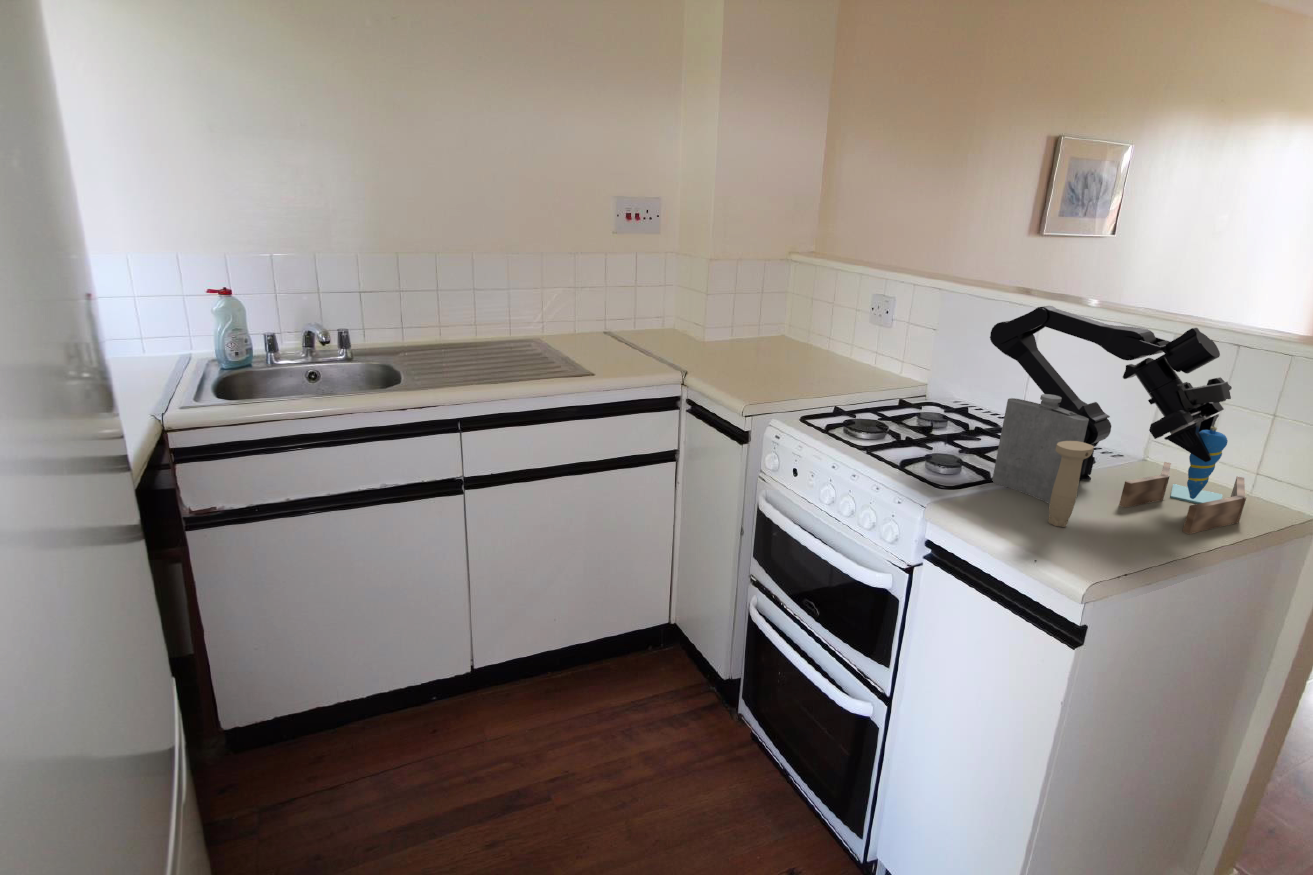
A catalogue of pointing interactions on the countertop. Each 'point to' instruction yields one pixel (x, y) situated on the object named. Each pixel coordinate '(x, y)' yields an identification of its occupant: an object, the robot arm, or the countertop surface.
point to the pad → (1202, 497)
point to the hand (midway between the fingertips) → (1214, 458)
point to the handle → (1067, 480)
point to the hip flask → (1035, 444)
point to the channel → (1198, 514)
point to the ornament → (1201, 469)
